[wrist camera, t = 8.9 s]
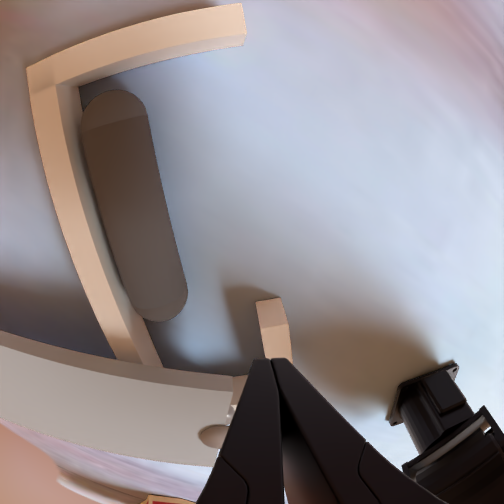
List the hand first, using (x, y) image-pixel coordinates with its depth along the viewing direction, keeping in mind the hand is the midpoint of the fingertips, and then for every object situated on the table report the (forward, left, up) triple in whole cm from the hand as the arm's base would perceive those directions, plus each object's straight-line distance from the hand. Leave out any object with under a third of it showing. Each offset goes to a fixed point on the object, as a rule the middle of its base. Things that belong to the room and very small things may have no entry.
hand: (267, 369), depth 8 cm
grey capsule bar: (+2, +5, -10) cm, 12 cm away
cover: (-8, +13, -6) cm, 16 cm away
